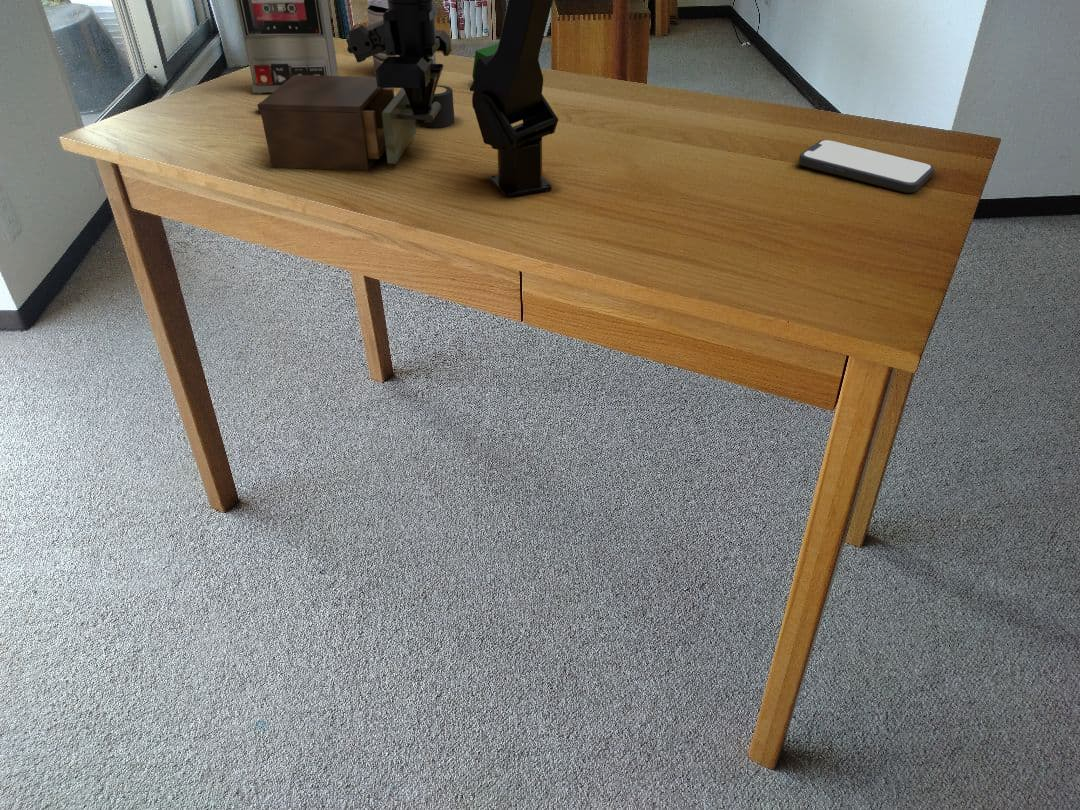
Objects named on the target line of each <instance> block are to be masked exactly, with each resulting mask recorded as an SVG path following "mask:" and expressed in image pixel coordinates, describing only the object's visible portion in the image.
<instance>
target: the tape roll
mask: <svg viewBox="0 0 1080 810" xmlns="http://www.w3.org/2000/svg"><path fill="white" fill-rule="evenodd" d="M453 92H454V91H453V88H452V87H449V86H446V85H439V84H437V87H436V90H435V94H434V97H433V100H432V103H431V104H433V103H434V102H439V103H440V104H441V108H440V110H439V112H438V113H437V115H436V116H435V118H434V119H433V121H432V122H430V123H428V122H425V123H424V124H419V125H420V126H421V127H424V128H429V129H441V128H446V127H450V126H452V125H454V123H455V107H454V93H453Z"/></svg>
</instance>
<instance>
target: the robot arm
mask: <svg viewBox="0 0 1080 810" xmlns="http://www.w3.org/2000/svg"><path fill="white" fill-rule="evenodd" d="M553 2H554V0H508V1H507V4H506V10H505V14H504V18H503V23H502V28H501V32H500V37H499V42H498V44H499V45H498V48H497V51H496V52H495V54H493V55H489V56H486V57H483V58H480V59H478V60H477V63H476V65H475V76H474V80H473V81H472V84H471V85H470V87H469V91H470V92H472V96H471V103H472V108H473V111H474V114H475V117H476V121H477V124H478V127H479V130H480V135H481V138H482V141H483V143H484V144H485V145H489V146H490V147H491V149H493V150H497V174H493V175H489V181H490V182H491V184H493V186H495V188H496V189H497V190H498V191H499V192H500V193H501V194H502V195H503V197H505V198H507V197H508V198H509V197H515V196H522V195H528V194H534V193H540V192H546V191H551V190H552V189H553V185H552V184H551V183H550V182H549V181H548V180H547V179H546V178H545V177H543V138H544V137H547V136H549V135H553V134H555V133H556V129H557V126H558V122H559V117H558V116H557V115H556V114H555V112H554V110H553V108H552V107H551V105H550V104H549V102H548V101H547V99H546V98H545V97H544V95H543V86H544V75H543V72H542V69H541V68H542V67H541V64H540V61H539V58H540V53H539V52H541V48H542V44H543V41H544V36H545V33H546V29H547V25H548V21H549V17H550V14H551V9H552V5H553ZM388 7H389V9H388V10H387V11H385V13H384V14H383V20H382V21H380V22H377V23H375V24H372V25H370V26H369V25H368V26H364V25H363V24H360V25H359V26H357V27H355V28H354V27H353V28H351V29H350V30H348V37H346V40H345V42H346V44H347V48H346V50H347V52H348V53H349V54H353V56H354V58H355V60H356V62H357V63H362V62H365V61H366V60H367V59H368V58H370V57H373V55H375V54H378V53H381V52H383V51H385V50H386V56H388V57H387V58H386V59H385V60H384V61H383V63H382V64H381V65H380V66H379V67H378V68H377V70H376V71H375V70H374V73H375V72H376V75H375V77H376V80H377V86H378V87H380V88H393V89H401V88H404V90H405V93H406V95H407V98H408V100H409V103H410V106H411V108H412V111H413V114H425V115H426V113H427V112H428V110H429V109H430V106H431V103H432V100H433V97H434V94H435V90H436V87H437V85H439V81H440V77H441V75H442V71H443V69H444V63H443V64H442V63H436V64H433V60H432V59H431V58H430V56H433V55H434V53H435V54H436V52H442V55H443V56H444V57H448V56H449V55H450V54H451V52H452V41H451V40H452V39H451V37H450V35H449V34H448V33H447V32H446V31H445V30H440V29H436V22H435V20H436V19H435V17H436V16H437V15H438V5H437V4H434V0H388ZM395 55H399V57H395ZM538 57H539V58H538ZM429 58H430V59H429ZM520 121H522V123H519V124H516V125H514V126H513V124H515V123H518V122H520ZM425 122H426V121H425V120H415V123H416V124H418V125H420V124H424V123H425Z"/></svg>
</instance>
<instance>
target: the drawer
mask: <svg viewBox="0 0 1080 810" xmlns="http://www.w3.org/2000/svg"><path fill="white" fill-rule="evenodd" d="M394 89H395V88H382V89H381V90H380V91H379V92H378V93H377V94H376V95H375V97H374V98H373V99H372V100H371V101H370V102H369V104H368V105H367V106H366V107H365V108H364V109H363V111H362V112H363V119H364V127H365V134H366V142H367V150H368V157H369V159H377V160H380V158H381V157H382V155H383V154H384V153H386V161H387V162H386V163H387V164H395V165H396V164H397V163H398V162H399V160H400V159H401V157H402V155H403V154H404V152H405V151H406V149H407V147H408V146H409V144H410V143H411V142H412V140H413V139H414V137H415V136H416V134H417V128H416V120H425V121H426V122H428V123H430V122H432V121H433V119H434V118H435V116H436V115H437V113H438V112H439V110H440V108H441V104H440V103H439V102H434V103H433V104H431V106H430V109H429V110H428V112H427V113H426V115H425V114H413V111H412V108H411V106H410V103H409V100H408V98H407V95H406V93H405V90H404V88H399V89H400V90H398V92H397V93H396V94H395V91H394Z"/></svg>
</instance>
